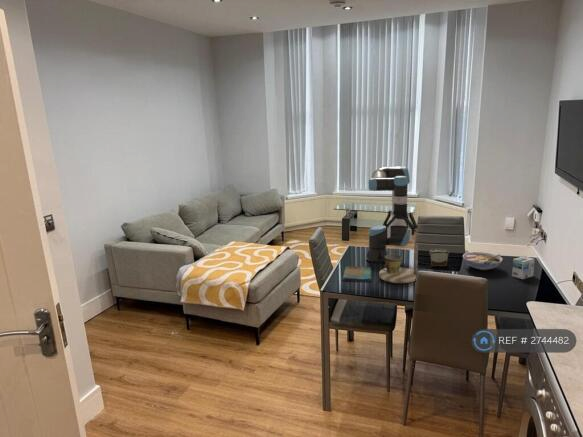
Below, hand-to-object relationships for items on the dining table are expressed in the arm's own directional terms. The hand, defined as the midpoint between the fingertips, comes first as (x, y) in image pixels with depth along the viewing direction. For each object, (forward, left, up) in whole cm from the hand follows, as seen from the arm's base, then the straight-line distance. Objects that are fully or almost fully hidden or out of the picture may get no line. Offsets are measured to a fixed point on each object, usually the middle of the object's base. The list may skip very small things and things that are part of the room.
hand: (399, 238), depth 234 cm
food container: (+9, +38, -25) cm, 46 cm away
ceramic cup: (-4, -1, -21) cm, 22 cm away
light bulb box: (+57, +44, -25) cm, 76 cm away
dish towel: (-24, -8, -26) cm, 36 cm away
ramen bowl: (+34, +45, -25) cm, 62 cm away
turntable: (0, -1, -23) cm, 23 cm away
